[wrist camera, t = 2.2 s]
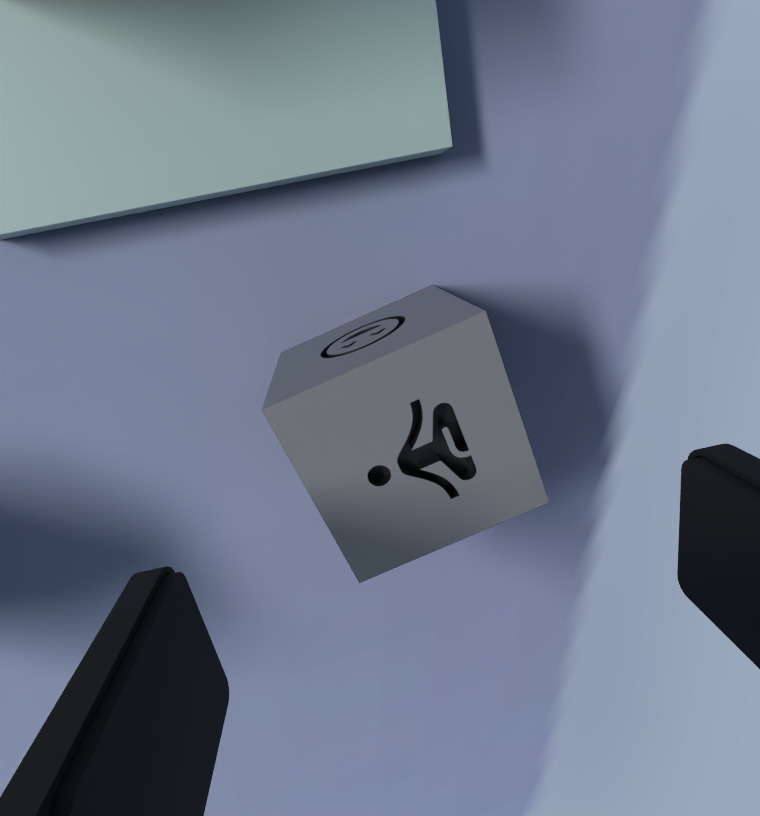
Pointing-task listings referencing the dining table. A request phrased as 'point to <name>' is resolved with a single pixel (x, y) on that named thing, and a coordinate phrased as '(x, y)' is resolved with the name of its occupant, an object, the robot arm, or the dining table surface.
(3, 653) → the dining table surface
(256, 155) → the build board
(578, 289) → the dining table surface
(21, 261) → the dining table surface
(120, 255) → the dining table surface
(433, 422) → the dice cube
